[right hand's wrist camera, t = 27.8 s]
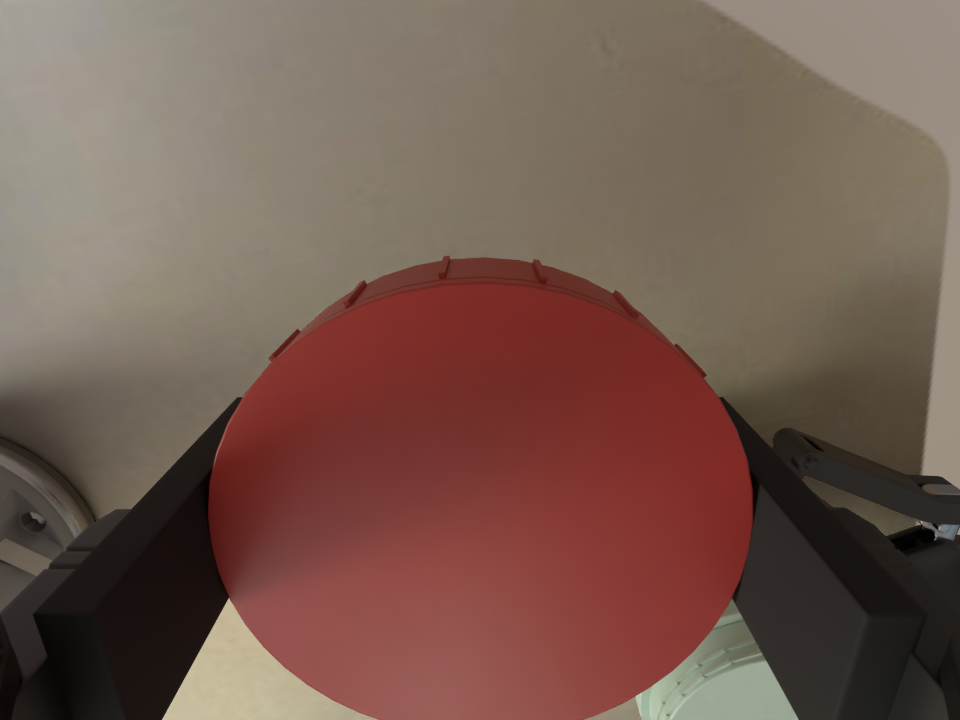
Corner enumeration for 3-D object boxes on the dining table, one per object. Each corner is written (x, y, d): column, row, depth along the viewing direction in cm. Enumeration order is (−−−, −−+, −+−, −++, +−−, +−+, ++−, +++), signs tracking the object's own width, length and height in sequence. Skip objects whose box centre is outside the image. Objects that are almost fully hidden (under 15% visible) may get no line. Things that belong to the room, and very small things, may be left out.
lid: (380, 145, 10) (357, 146, 8) (815, 411, 12) (879, 464, 10) (179, 549, 13) (127, 619, 11) (549, 711, 15) (559, 796, 13)
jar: (737, 440, 34) (932, 664, 20) (697, 556, 37) (841, 825, 23) (595, 422, 34) (688, 638, 19) (567, 541, 37) (628, 807, 22)
